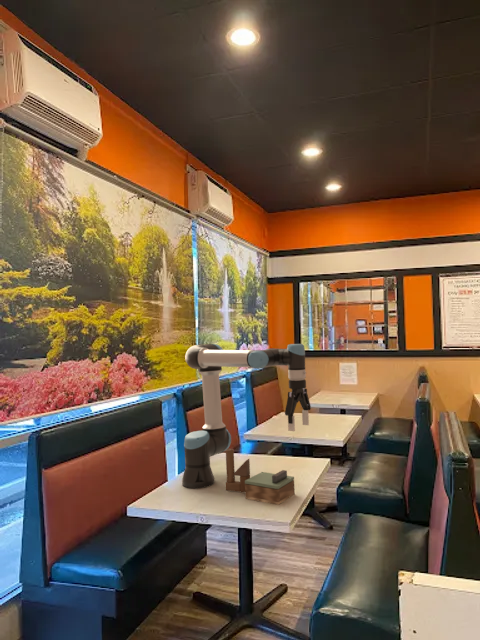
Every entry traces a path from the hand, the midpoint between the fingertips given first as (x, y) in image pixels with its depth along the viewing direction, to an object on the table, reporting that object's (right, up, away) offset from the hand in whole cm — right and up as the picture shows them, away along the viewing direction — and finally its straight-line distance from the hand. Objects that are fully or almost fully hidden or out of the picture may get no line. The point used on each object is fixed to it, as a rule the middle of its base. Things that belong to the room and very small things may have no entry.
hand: (298, 427), depth 216 cm
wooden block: (-27, -29, +3) cm, 39 cm away
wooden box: (-13, -28, -6) cm, 31 cm away
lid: (-13, -22, -6) cm, 26 cm away
